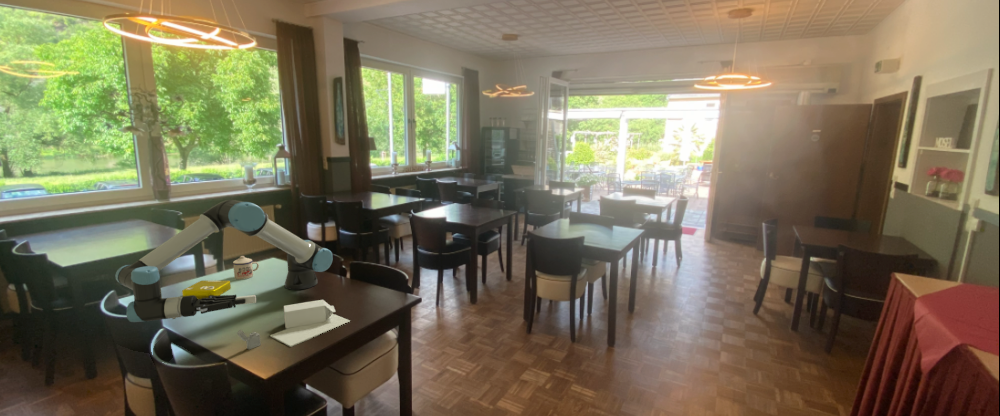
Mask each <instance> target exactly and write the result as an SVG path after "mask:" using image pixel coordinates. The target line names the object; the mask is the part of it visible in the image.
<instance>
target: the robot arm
mask: <svg viewBox="0 0 1000 416" xmlns="http://www.w3.org/2000/svg"><path fill="white" fill-rule="evenodd" d="M226 228H232V229H235V230H237V231H238V232H241V233H243V235H246V236H248V237H254V236H256V237H258V238H259V239H262V241H265V242H267V243H268V244H270V245H272V246H274V247H276V248H278V249H279V250H281V251H283V252H285V253H286V259H287V260H286V261H287V262H286V263H287V273H286V277H285V281H284V288H286V289H288V290H292V291H294V290H304V289H305V290H306V289H309V288H312V287H315V286H316V285H317V284H318V277H317V275H316V273H317V272H319V273H324V272H325V271H327V270H328V269H329V268H330V267H331V265H332V263H333V252H332V251H331V250H330V249H328V248H326V247H322V246H320V245H318V244H317V243H315V242H313V241H312V240H311V239H310V240H309V239H303V238H300V236H298V235H296V234H294V233H292V232H291V231H290V230H287V229H286V228H285V227H282V226H281V225H280V224H277V223H276V222H274V221H272V220H271V219H269V215H268V213H266V212H265V211H264V210H263V208H262V207H260V206H259V205H257V204H256V203H253V202H250V201H242V200H236V199H226V200H222V201H221V202H219V203H217V204H215V205H213V206H211V207H210V208H209V209H207V210H205V211H204V212H202V213H200V215H199V218H198V219H197V220H195V221H194V222H193V223H191V224H190V225H188V226H187V227H185V228H184V229H182V230H181V231H179V232H178V233H176V234H175V235H173V236H171V237H170V238H169V239H167V240H166V241H164V242H162V243H161V244H160V245H159V246H157V247H155V248H154V249H153V250H151V251H150V252H148V253H147V254H146V255H144V256H142V257H141V258H140V259H138V260H137V261H135V262H134V263H132V264H125V265H122V266H121V267H119V268H118V269H117V270H116V272H115V280H116V281H117V283H119V285H121V286H123V287H125V288H128V289H130V290H131V291H132V292H133V299H134V300H132V301H131V302H129V303H128V305H127V306H126V319H127V320H128V321H129V322H131V323H140V322H141V323H142V322H143V323H146V322H150V321H159V320H168V319H172V320H175V319H176V318H182V317H185V318H186V317H194V316H196V315H197V312H200V315H202V314H206V313H211V312H215V311H222V310H226V309H232V308H234V309H235V308H236V307H237V306H239V305H249V304H250V305H251V304H256V303H257V296H256V294H253V295H252V294H251V295H243V296H237V294H226V295H224V294H221V295H220V296H214V295H209V298H202V299H197V298H196V296H194V295H192V296H184V297H183V296H173V297H164V298H163V295H162V285H161V274H160V271H161V270H162V269H164V268H166V267H167V266H168V265H170V264H171V263H173V262H174V261H175V260H177V259H178V258H179V257H181V256H182V255H184V254H185V253H186V252H188V251H189V250H191V249H192V248H193V247H195V246H197V244H199V243H200V242H202V241H203V240H205V239H206V238H208V237H209V236H210V235H212V234H213V233H219V232H220V231H222V230H223V229H226ZM315 272H316V273H315Z"/></svg>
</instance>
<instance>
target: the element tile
mask: <svg viewBox="0 0 1000 416" xmlns="http://www.w3.org/2000/svg"><path fill="white" fill-rule="evenodd" d="M231 289H232V286H231V280H216V279H215V280H199V281H198V282H196V283H194V284H191V285H190V286H188V287H186V288H184V289H182V291H181V293H182V298H183V297H184V296H192V295H194V296H196V298H197V299H202V298H209V295H214V296H220V295H224V294H225V293H226V292H228V291H229V290H231Z"/></svg>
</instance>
